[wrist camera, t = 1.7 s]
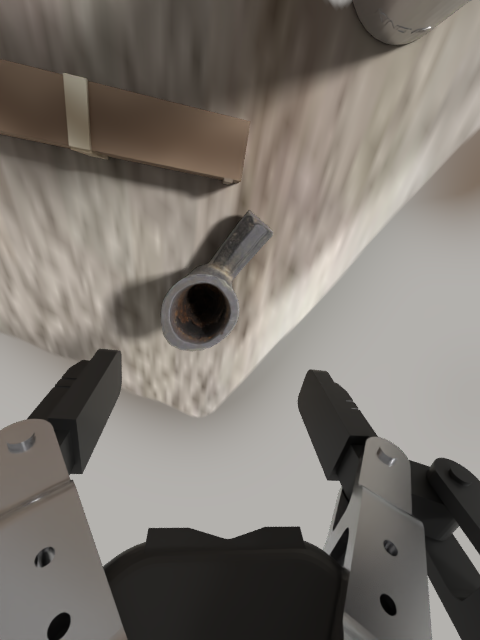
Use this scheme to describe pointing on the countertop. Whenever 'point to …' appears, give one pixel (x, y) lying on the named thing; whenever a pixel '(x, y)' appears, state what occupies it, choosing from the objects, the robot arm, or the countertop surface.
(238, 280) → the countertop surface
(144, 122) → the banded brown beam
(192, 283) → the pipe
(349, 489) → the robot arm
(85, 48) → the countertop surface
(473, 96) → the countertop surface
